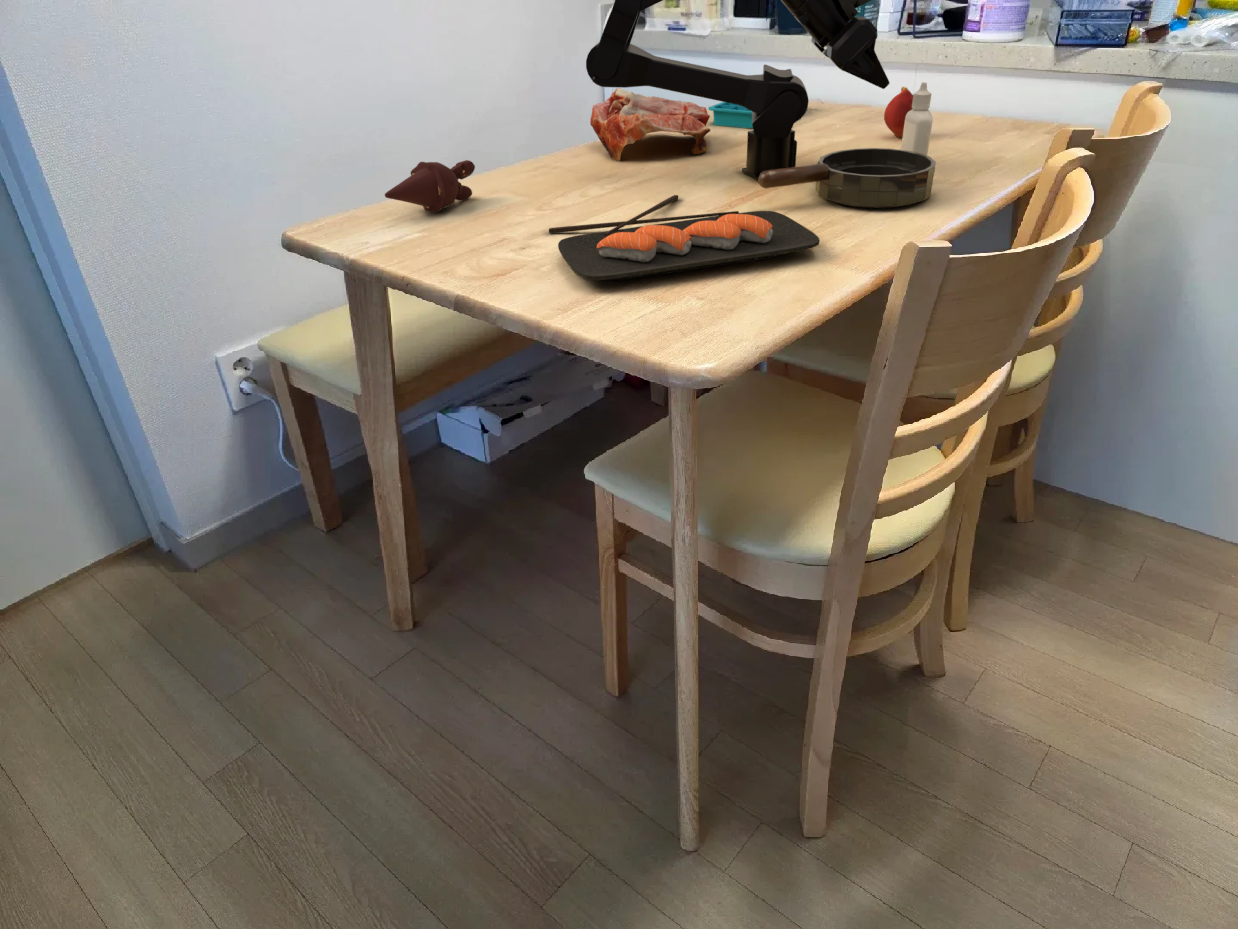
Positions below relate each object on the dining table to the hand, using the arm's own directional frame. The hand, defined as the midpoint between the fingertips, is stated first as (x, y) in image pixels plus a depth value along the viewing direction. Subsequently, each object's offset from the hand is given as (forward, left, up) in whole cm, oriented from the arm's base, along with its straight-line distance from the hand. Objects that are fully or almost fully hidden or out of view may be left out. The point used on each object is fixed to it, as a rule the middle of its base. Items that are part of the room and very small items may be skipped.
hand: (879, 80), depth 117 cm
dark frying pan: (-6, -11, -13) cm, 18 cm away
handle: (-18, -11, -10) cm, 23 cm away
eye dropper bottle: (+6, -2, -13) cm, 14 cm away
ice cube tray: (+2, +44, -13) cm, 46 cm away
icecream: (-64, +8, -13) cm, 66 cm away
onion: (+16, +17, -13) cm, 27 cm away
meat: (-24, +30, -13) cm, 41 cm away
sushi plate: (-38, -16, -13) cm, 43 cm away
